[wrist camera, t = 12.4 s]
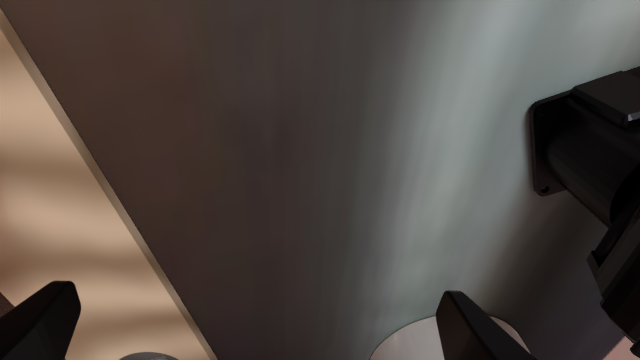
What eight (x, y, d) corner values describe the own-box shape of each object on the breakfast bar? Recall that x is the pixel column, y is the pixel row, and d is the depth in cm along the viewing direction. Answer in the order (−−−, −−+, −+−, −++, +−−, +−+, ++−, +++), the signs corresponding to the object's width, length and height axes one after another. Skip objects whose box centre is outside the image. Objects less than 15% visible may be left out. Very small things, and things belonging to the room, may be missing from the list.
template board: (232, 383, 34) (231, 393, 33) (123, 404, 34) (119, 414, 34) (-34, -47, 16) (-49, -47, 15) (-248, 11, 17) (-272, 15, 16)
